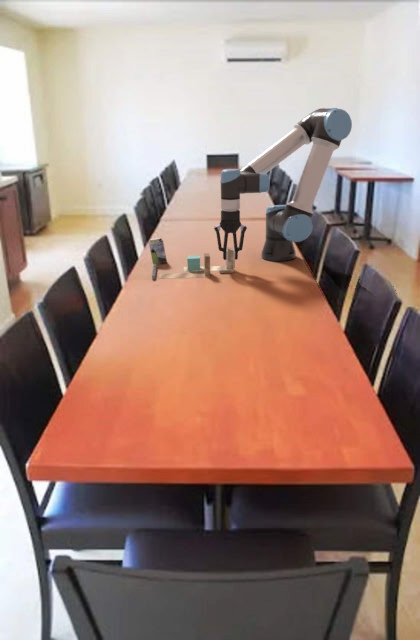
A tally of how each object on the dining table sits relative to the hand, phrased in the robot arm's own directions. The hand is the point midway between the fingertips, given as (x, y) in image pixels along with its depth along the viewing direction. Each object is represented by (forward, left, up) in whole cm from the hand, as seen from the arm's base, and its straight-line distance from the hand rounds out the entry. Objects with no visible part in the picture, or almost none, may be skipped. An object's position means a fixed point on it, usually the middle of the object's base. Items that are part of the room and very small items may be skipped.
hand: (230, 267), depth 232 cm
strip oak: (+19, +9, -2) cm, 21 cm away
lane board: (+19, +5, -2) cm, 19 cm away
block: (+15, 0, 0) cm, 15 cm away
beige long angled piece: (+9, 0, -2) cm, 9 cm away
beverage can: (+30, -12, -2) cm, 32 cm away
